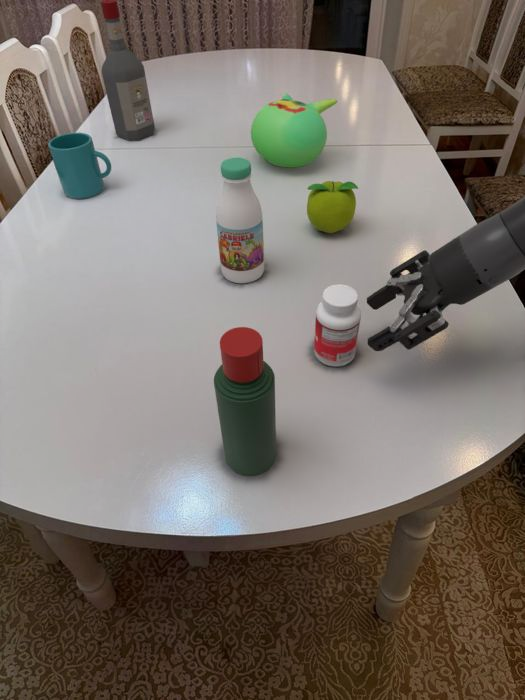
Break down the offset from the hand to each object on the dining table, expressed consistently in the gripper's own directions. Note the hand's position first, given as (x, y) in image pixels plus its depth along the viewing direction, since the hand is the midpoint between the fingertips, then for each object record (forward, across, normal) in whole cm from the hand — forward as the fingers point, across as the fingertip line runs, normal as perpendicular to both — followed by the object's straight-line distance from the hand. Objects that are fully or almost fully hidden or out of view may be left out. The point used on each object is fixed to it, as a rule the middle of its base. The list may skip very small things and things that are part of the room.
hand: (370, 324), depth 69 cm
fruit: (+9, -35, 0) cm, 36 cm away
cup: (+48, -47, -38) cm, 77 cm away
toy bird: (+17, -64, -8) cm, 67 cm away
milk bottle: (+20, -19, -10) cm, 29 cm away
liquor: (+47, -79, -38) cm, 100 cm away
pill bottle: (+8, 0, +1) cm, 8 cm away
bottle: (+15, +18, -6) cm, 24 cm away
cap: (+3, +19, -17) cm, 25 cm away
